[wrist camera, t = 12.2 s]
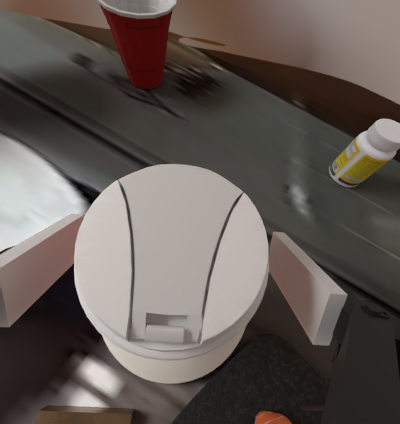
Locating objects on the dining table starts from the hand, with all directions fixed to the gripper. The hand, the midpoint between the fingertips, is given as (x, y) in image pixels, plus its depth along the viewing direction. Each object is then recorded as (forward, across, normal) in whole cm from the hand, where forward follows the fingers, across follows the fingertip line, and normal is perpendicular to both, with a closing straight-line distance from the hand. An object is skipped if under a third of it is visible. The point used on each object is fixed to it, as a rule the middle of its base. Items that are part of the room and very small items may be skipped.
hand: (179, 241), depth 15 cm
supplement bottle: (+18, +23, +4) cm, 30 cm away
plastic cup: (+30, -9, +16) cm, 36 cm away
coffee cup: (+4, 0, -8) cm, 9 cm away
